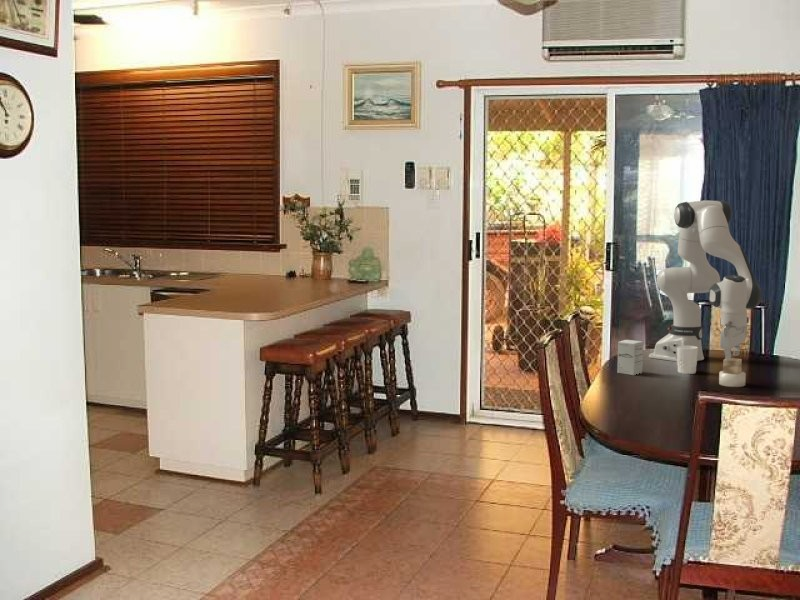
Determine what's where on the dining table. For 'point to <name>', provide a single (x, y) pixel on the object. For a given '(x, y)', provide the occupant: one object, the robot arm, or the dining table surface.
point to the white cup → (687, 359)
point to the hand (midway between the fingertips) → (732, 357)
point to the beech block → (732, 366)
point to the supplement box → (630, 357)
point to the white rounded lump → (732, 379)
